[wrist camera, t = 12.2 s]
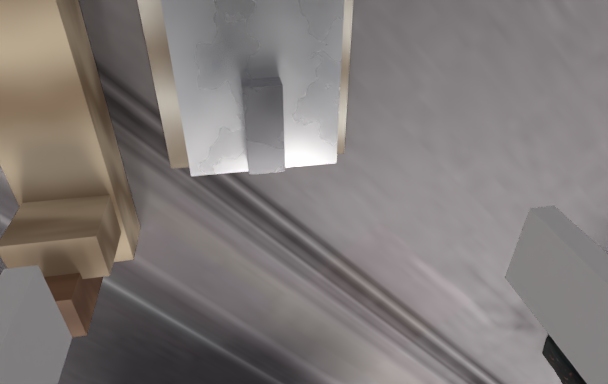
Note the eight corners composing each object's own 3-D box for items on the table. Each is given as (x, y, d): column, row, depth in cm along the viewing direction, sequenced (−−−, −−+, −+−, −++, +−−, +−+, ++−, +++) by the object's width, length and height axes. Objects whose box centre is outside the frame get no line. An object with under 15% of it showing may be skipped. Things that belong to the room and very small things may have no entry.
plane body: (140, 227, 33) (119, 331, 25) (62, 236, 32) (16, 345, 24) (32, -166, 20) (-81, -202, 12) (-103, -168, 19) (-317, -208, 11)
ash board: (340, 146, 32) (344, 153, 31) (172, 161, 30) (171, 168, 29) (352, -78, 24) (357, -77, 23) (125, -76, 22) (122, -75, 21)
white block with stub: (321, 129, 30) (341, 173, 25) (193, 140, 28) (190, 188, 24) (325, -35, 24) (352, -17, 19) (166, -31, 23) (155, -11, 18)
